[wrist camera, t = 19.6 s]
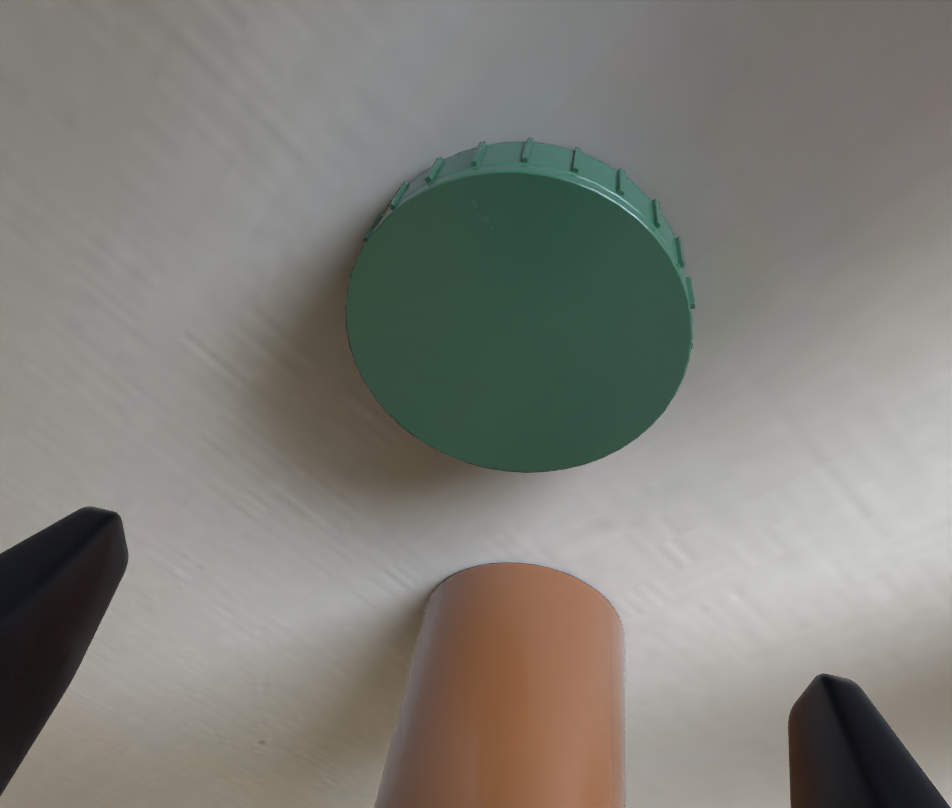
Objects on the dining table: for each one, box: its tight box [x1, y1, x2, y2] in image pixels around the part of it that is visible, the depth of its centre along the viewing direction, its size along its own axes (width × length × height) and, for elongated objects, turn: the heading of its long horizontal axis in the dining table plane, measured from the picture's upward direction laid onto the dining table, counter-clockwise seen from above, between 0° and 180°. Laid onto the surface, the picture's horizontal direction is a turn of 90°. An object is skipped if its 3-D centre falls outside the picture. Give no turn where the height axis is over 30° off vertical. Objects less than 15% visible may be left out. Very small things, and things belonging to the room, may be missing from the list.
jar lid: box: [345, 138, 695, 473], centre depth 15 cm, size 7×7×2 cm
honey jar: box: [374, 563, 626, 808], centre depth 19 cm, size 6×6×8 cm
